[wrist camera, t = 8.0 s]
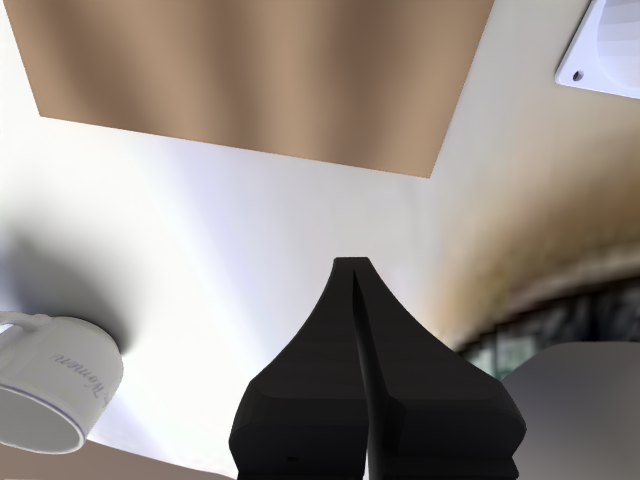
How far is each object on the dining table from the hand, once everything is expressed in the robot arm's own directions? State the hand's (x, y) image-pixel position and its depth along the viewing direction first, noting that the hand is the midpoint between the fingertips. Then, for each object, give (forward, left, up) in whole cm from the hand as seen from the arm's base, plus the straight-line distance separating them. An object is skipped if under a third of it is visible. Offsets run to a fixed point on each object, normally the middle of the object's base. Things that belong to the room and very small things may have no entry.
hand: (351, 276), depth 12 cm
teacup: (+22, +18, -10) cm, 30 cm away
